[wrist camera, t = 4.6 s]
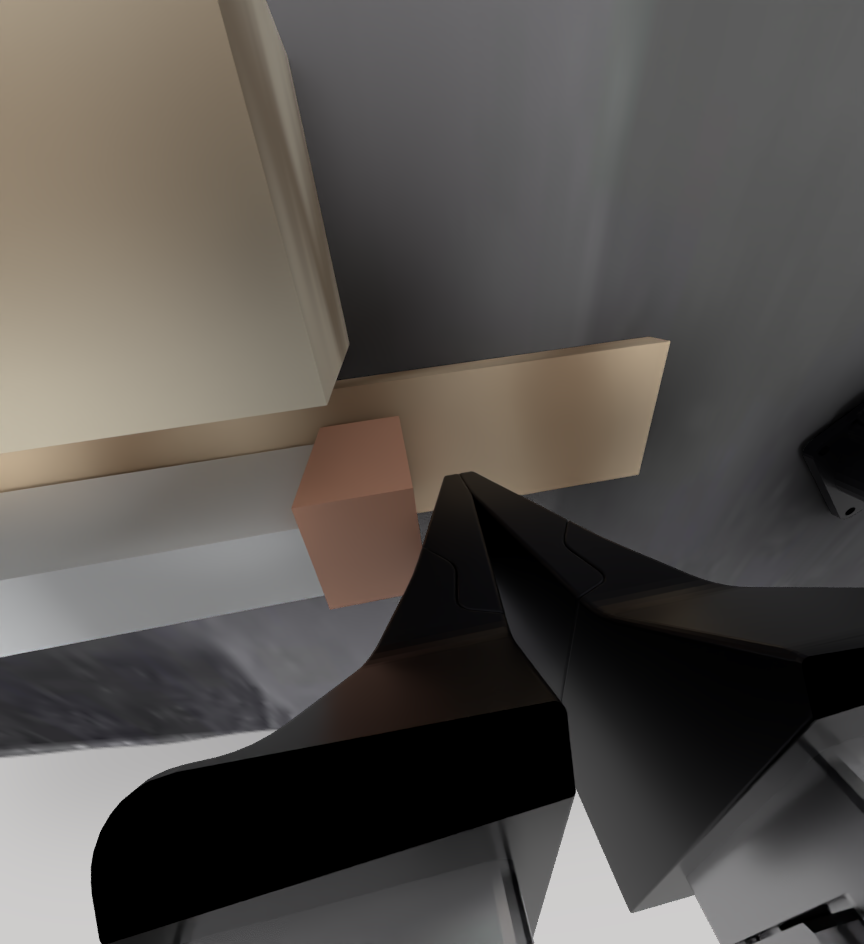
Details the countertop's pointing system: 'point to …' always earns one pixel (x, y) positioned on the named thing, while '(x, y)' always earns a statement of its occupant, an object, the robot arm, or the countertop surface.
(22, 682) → the countertop surface
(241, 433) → the plank
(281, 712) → the countertop surface
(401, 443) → the white and pink block
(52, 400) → the wooden block
